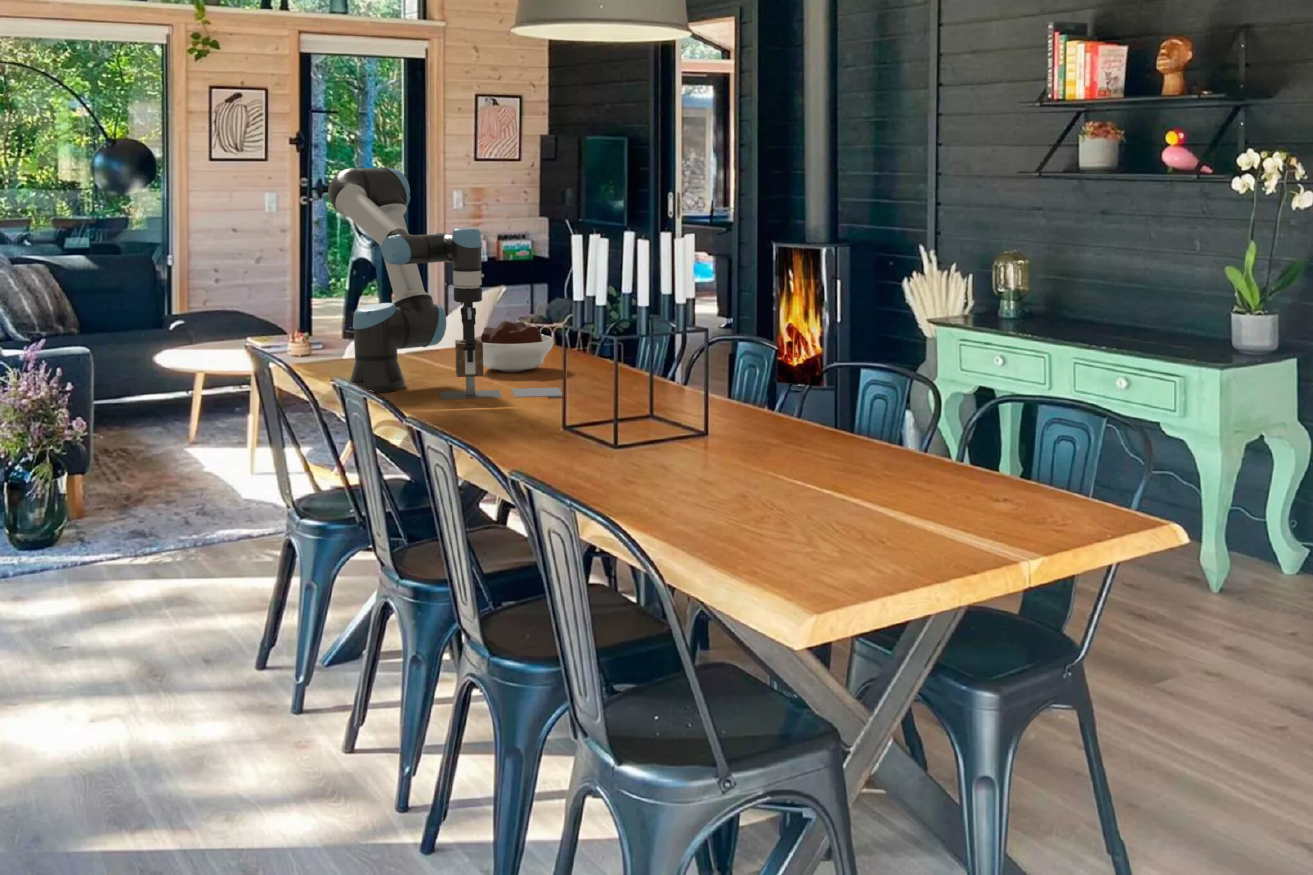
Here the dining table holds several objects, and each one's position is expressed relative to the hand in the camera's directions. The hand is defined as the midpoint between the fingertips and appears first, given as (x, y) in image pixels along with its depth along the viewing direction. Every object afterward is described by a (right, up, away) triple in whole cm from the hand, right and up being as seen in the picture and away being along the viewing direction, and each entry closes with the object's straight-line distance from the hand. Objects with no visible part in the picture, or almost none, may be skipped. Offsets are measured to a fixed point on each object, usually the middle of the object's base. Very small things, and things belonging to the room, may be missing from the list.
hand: (469, 371), depth 381 cm
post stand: (0, -7, +1) cm, 7 cm away
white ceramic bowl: (+7, +2, +47) cm, 48 cm away
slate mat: (+18, -6, +4) cm, 19 cm away
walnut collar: (0, -1, 0) cm, 1 cm away
